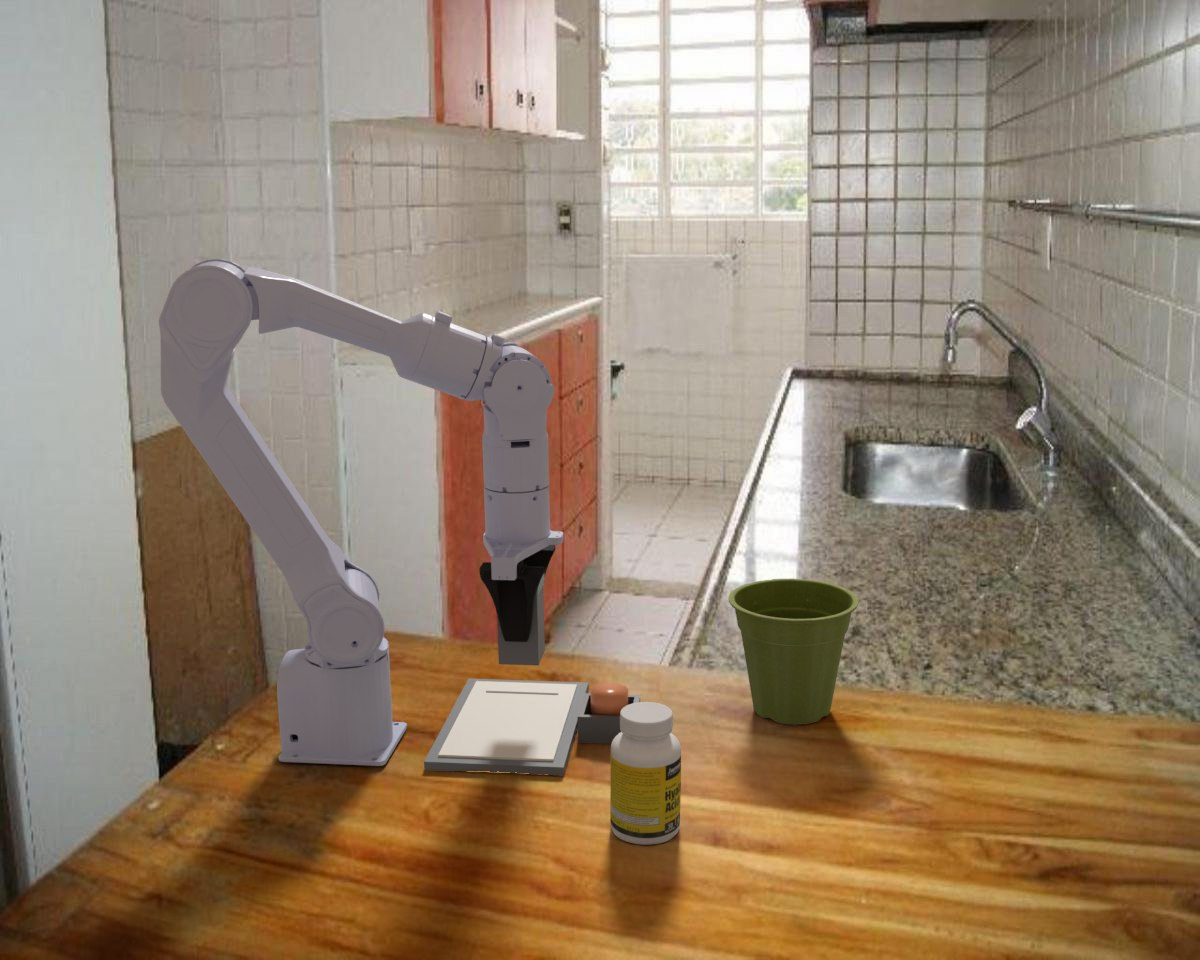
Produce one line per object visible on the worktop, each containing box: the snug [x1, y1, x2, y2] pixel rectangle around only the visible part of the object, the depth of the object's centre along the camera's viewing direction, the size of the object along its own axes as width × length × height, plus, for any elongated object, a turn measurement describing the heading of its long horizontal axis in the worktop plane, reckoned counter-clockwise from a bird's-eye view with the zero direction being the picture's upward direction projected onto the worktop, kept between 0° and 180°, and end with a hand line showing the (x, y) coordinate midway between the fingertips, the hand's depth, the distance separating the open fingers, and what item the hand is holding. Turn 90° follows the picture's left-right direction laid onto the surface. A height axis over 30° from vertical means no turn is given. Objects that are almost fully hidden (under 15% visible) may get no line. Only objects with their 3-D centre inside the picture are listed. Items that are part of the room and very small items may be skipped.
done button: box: [590, 682, 629, 716], centre depth 111 cm, size 3×3×2 cm
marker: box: [496, 574, 546, 666], centre depth 110 cm, size 4×4×8 cm
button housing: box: [577, 692, 641, 745], centre depth 112 cm, size 5×5×2 cm
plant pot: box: [728, 578, 860, 726], centre depth 115 cm, size 12×12×11 cm
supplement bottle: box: [609, 701, 682, 846], centre depth 94 cm, size 5×5×10 cm
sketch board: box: [423, 678, 589, 777], centre depth 113 cm, size 12×18×1 cm, turn 174°
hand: (520, 631), depth 111 cm, fingers closed on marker, 4 cm apart
